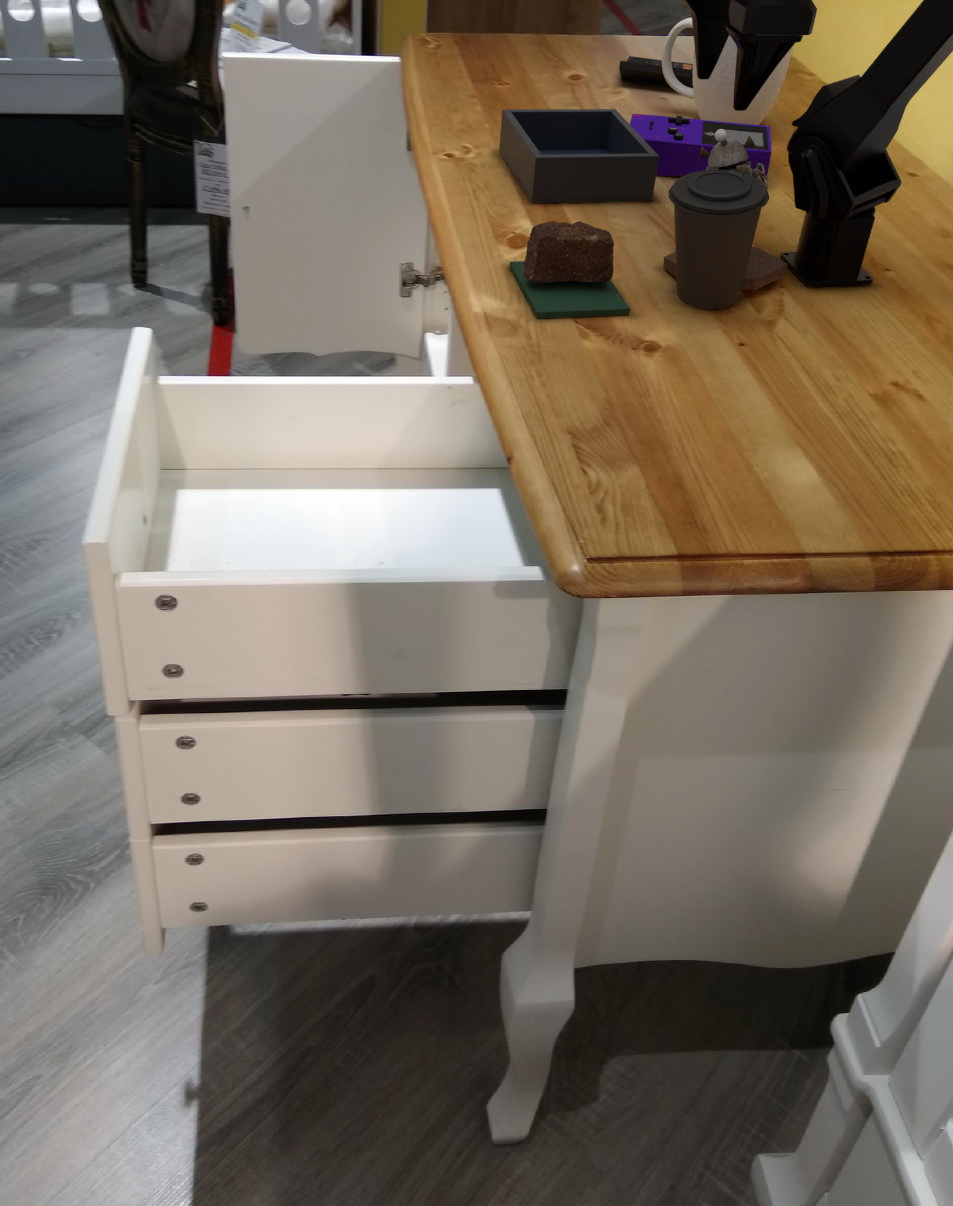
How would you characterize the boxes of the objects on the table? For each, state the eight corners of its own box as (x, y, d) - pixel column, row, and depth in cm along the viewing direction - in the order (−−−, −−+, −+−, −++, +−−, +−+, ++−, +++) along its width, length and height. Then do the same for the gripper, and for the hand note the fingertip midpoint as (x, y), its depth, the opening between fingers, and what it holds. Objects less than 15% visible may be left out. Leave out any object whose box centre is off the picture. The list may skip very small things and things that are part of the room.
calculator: (698, 71, 155) (702, 47, 153) (690, 96, 146) (694, 71, 144) (628, 63, 156) (631, 38, 154) (616, 86, 147) (619, 61, 145)
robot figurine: (789, 259, 106) (809, 119, 100) (790, 292, 99) (812, 144, 92) (667, 251, 108) (679, 114, 102) (658, 284, 101) (671, 138, 94)
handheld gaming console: (633, 108, 128) (770, 121, 127) (627, 157, 132) (761, 170, 130) (626, 133, 121) (772, 148, 119) (620, 184, 124) (762, 198, 123)
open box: (652, 201, 117) (659, 156, 115) (531, 203, 115) (535, 157, 112) (610, 151, 128) (615, 108, 125) (498, 152, 126) (502, 109, 123)
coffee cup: (759, 275, 102) (775, 163, 96) (751, 321, 97) (767, 206, 90) (667, 267, 104) (676, 156, 97) (654, 312, 99) (662, 198, 92)
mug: (638, 119, 138) (656, -2, 129) (670, 97, 145) (688, -19, 137) (760, 145, 133) (787, 21, 125) (786, 120, 141) (812, 2, 132)
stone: (608, 276, 101) (615, 220, 98) (616, 291, 99) (624, 234, 96) (521, 277, 100) (526, 220, 97) (527, 292, 98) (533, 234, 95)
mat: (629, 315, 97) (630, 308, 97) (536, 318, 95) (537, 312, 95) (595, 265, 104) (596, 258, 104) (509, 267, 103) (509, 261, 103)
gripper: (630, -127, 102) (606, 64, 111) (705, -85, 88) (670, 128, 98) (749, -122, 104) (715, 64, 114) (841, -80, 90) (793, 128, 100)
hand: (720, 94), depth 106 cm, fingers open, 9 cm apart
